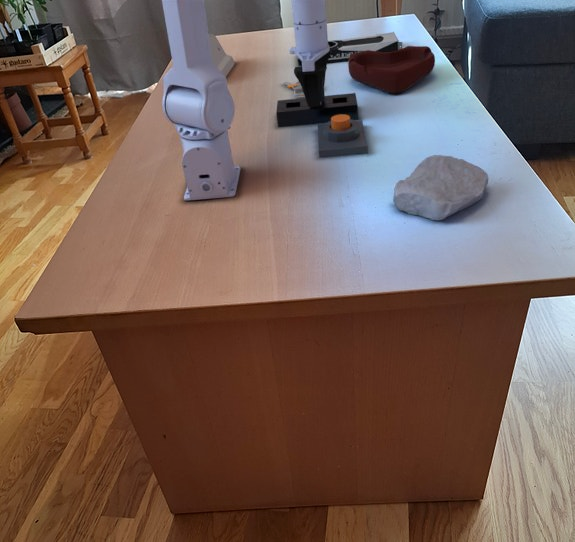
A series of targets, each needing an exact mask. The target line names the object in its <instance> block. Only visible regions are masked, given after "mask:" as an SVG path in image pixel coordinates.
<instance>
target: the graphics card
mask: <svg viewBox="0 0 575 542" xmlns="http://www.w3.org/2000/svg"><path fill="white" fill-rule="evenodd" d="M328 45H329V49H331V54H330V56H329V59H328V62H327V64H331V63H339V62H349V56H350V55H351V54H354V53H359V52H363V51H366V50H371V51H378V52H393V51H397V50H399V49H402V48H403V41H399V39H398V37H397V35H396V33H395V31H392V32H385V33H377V34H375V35H368V36H360V37H351V38H342V39H336V40H334V39H333V40H328ZM297 65H298V67H302V61H301V60H300V59H299V58H298V57H297Z"/></svg>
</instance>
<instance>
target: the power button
mask: <svg viewBox="0 0 575 542" xmlns="http://www.w3.org/2000/svg"><path fill="white" fill-rule="evenodd" d="M331 127H332V129H333V130H338V131H339V130H346V129H349V128H350V116H348V115H344V114H340V115H335V116H333V117H332V118H331Z"/></svg>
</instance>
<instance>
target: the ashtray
mask: <svg viewBox="0 0 575 542" xmlns="http://www.w3.org/2000/svg"><path fill="white" fill-rule="evenodd" d="M347 62H348V63H347V67H348V72H349V75H350V77H351V78H352V80H353V81H356V82H358V83H360V84H364V85H367V86H370V87H373V88H375V89H377V90H380V91H383V92H386V93H388V94H389V95H400V94H403V93H404V92H405V91H407V90H408V89H410V88H411V87H412V86H414V85H416V84H417V83H418V82H419V81H421V80H422V79H423V78H425V77H427V76H428V75H429V74H430V73H432V71H433V70H434V68H435V65H436V56H435V54H434V52H432V49H431V48H430V46H426V45H418V46H416V45H408V46H405V47H402V49H399V50H397V51H393V52H378V51H371V50H366V51H363V52H359V53H354V54H351V55H350V56H349V61H347Z"/></svg>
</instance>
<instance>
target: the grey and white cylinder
mask: <svg viewBox="0 0 575 542" xmlns="http://www.w3.org/2000/svg"><path fill="white" fill-rule="evenodd" d="M325 96H326V95H325V84H324V80H323V81H322V89H321V101H320V105H322V101H324V100H325Z"/></svg>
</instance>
